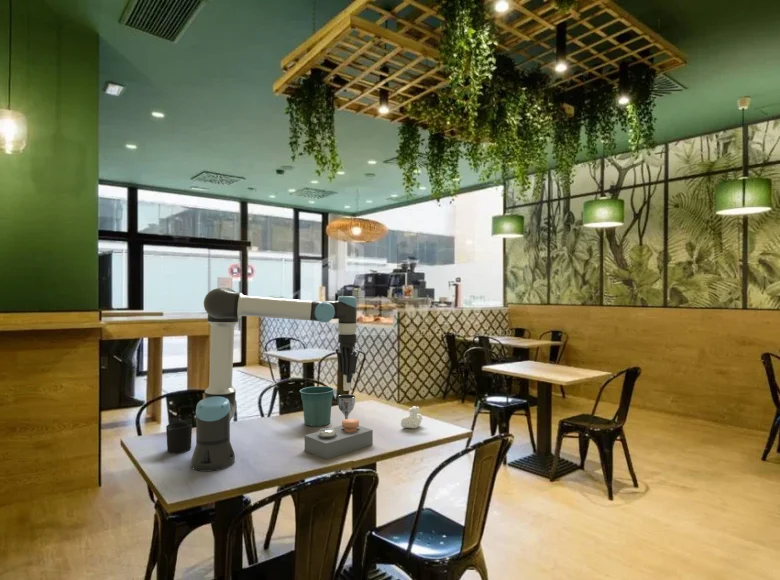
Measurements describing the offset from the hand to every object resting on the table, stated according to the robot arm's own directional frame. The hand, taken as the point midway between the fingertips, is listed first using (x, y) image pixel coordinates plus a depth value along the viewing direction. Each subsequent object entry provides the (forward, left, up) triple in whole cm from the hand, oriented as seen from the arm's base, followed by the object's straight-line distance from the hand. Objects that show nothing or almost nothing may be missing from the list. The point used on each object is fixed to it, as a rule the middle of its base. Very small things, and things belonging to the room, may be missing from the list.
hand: (347, 390), depth 198 cm
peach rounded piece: (+1, -1, -20) cm, 20 cm away
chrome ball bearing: (-11, -1, -21) cm, 24 cm away
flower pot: (+9, +33, -23) cm, 41 cm away
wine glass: (+13, +16, -23) cm, 30 cm away
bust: (+36, -4, -23) cm, 43 cm away
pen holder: (-52, +42, -23) cm, 70 cm away
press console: (-5, -1, -22) cm, 23 cm away
